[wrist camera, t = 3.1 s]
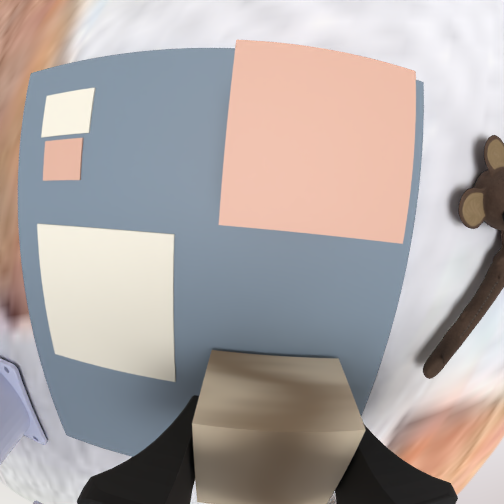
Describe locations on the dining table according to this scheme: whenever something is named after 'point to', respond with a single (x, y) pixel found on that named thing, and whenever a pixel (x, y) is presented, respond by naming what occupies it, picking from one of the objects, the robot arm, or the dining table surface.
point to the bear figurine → (500, 272)
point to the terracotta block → (318, 142)
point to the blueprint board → (173, 249)
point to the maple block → (273, 429)
